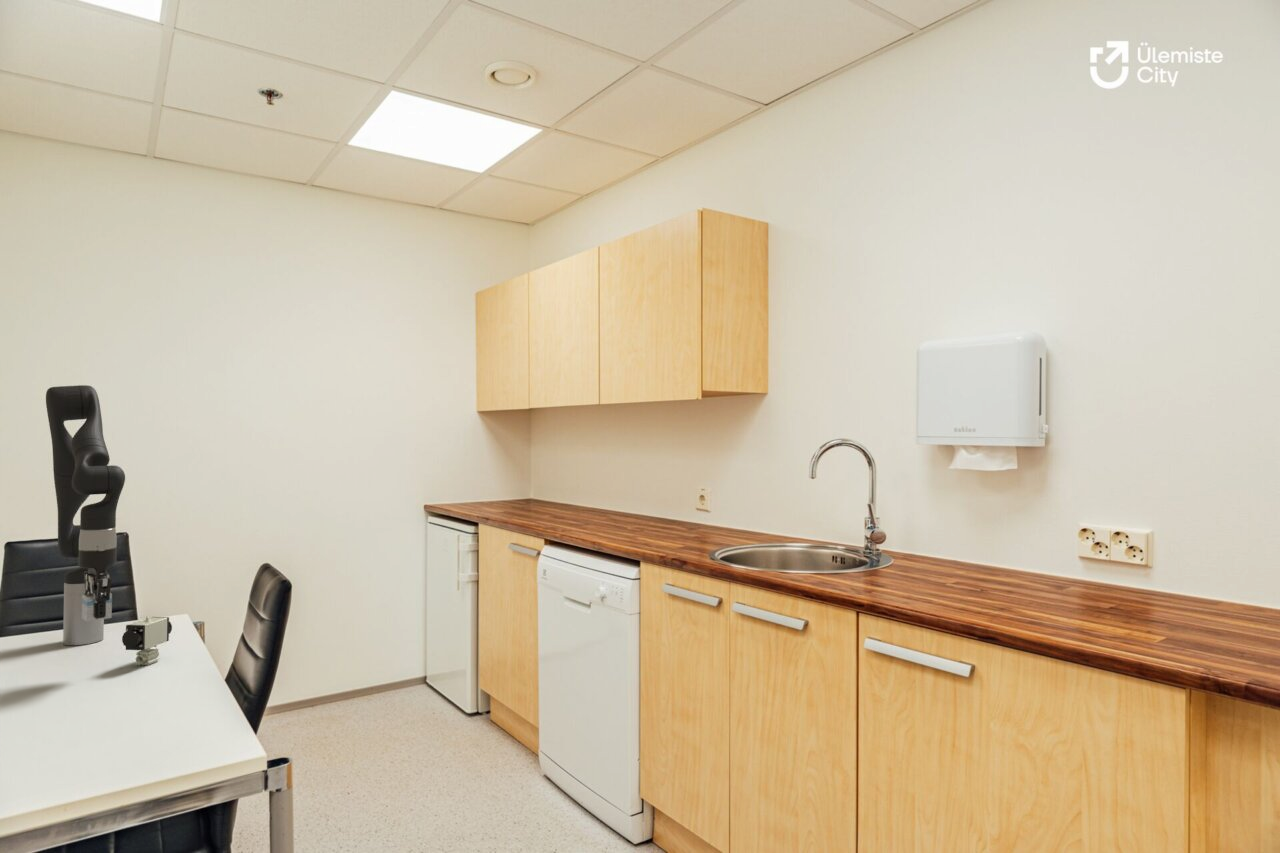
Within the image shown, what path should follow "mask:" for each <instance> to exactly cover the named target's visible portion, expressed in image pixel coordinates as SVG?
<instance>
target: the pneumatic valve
mask: <svg viewBox="0 0 1280 853" xmlns="http://www.w3.org/2000/svg"><path fill="white" fill-rule="evenodd" d="M172 630H173V625H172V623H171V622H170V617H169V616H168V617H167V616H166V617H165V616H152V617H151V616H146V617H145V619H142V620H137V621H134V622H132V623H129V624H125V632H123V634H122V638H121V642H122V645H123V646H124V647H125V650H126V651H137V652H136V653H135V655H136V657H135V665H137V666H140V665H145V666H149V665H153V664H154V663H157V662H159V658H158V657H159V655H160V652H159V649H158V648H156V647H157V646H158V645H160V644H163V643H167V642H169V641H170V640H169V639H170V638H169V637H170V634H171V632H172Z"/></svg>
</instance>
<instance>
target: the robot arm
mask: <svg viewBox="0 0 1280 853" xmlns="http://www.w3.org/2000/svg"><path fill="white" fill-rule="evenodd" d="M100 404H101V403H100V399H99V395H98V393H97V390H96V389H95V388H94V387H93V386H92V385H88V384H87V385H83V384H81V385H80V384H79V385H78V384H77V385H66V386H65V385H64V386H63V385H62V386H60V385H59V386H52V387H49V388H47V390H46V394H45V405H46V412H47V418H48V425H49V431H50V437H51V446H52V465H53V466H52V468H53V471H52V472H53V480H54V488H55V496H56V505H57V549H58V553H59V555H60V556H61V558H64V559H75V558H76V559H78V567H77V568H75V569H72V570H69V571H67V572H65V573H64V578H63V580H64V583H63V624H62V625H63V631H62V632H63V634H62V643H63V645H65V646H81V645H88V644H89V645H90V644H94V643H97V642H101V641H102V640H104V630H105V628H104V627H105V626H104V624H105V619H101V620H95V621H89V622H86V621H85V620H84V619H82V594H86V593H91V594H93V595H94V618H96V619H98V618H104V617H105V616H106V602H107V601H109V599H110V593H111V587H112V577H111V576H110V574H109V573H108V570H107V568H108V567H112V566H114V565H116V564H117V553H118V552H117V549H118V548H117V545H118V544H117V543H118V541H117V535H118V534H117V530H116V525H117V523H116V521H117V520H116V519H117V517H116V516H117V514H116V513H117V507H118V504H119V503H118V502H119V499H120V497H121V494H122V490H123V488H124V485H125V483H126V474H125V471H124V470H123V469H122V467H120V466H118V465H109V464H110V454H109V451H108V449H107V445H106V442H105V437H104V432H103V421H102V418H103V417H102V411H101V405H100ZM77 420H79V421H81V420H85V421H84V423H83V424H82V425H81V427H79V429H78V430H77V431H76V432H75V434H74V435H73V436H72V434H70V432H69V431H68V430H67V427H66V426H65V422H66V421H77ZM90 495H105V496H104V497H103V499H101V501H97V502H94V503H90V504H87V505H83V504H84V502H86V500H87V499H88V498H89V497H90ZM82 505H83V507H82V508H81V509H80V507H81V506H82ZM79 510H80V517H79V518H80V521H79V524H76V525H75V524H74V518H75V517H76V514H77V513H78V511H79ZM95 589H97V590H95ZM101 593H103V596H101V597H100V594H101Z"/></svg>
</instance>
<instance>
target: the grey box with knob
mask: <svg viewBox="0 0 1280 853" xmlns="http://www.w3.org/2000/svg"><path fill="white" fill-rule="evenodd" d="M95 590H97V589H95ZM101 596H103V593H101V594H100V597H101ZM112 603H113V593H111V592H110V599H109V601H107V602H106V616H105V617H104V618H98V619H96V618H94V595H93V594H91V593H86V594H82V619H84V620H85V621H86V622H89V621H95V620H101V619H104V620H106V619H112V618H113V616H112V613H113V612H112V611H113V604H112Z"/></svg>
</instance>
